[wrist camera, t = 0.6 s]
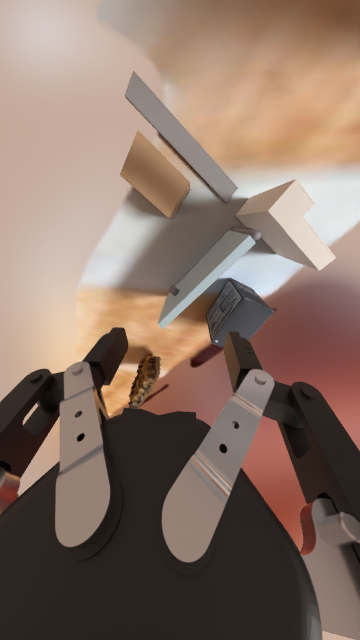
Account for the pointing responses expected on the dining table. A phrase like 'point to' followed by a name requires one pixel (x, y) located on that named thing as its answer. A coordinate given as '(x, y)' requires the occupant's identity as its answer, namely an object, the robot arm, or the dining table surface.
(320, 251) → the door frame
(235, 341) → the robot arm
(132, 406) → the brown wasp nest
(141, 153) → the block
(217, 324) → the small box
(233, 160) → the dining table surface
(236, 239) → the door
